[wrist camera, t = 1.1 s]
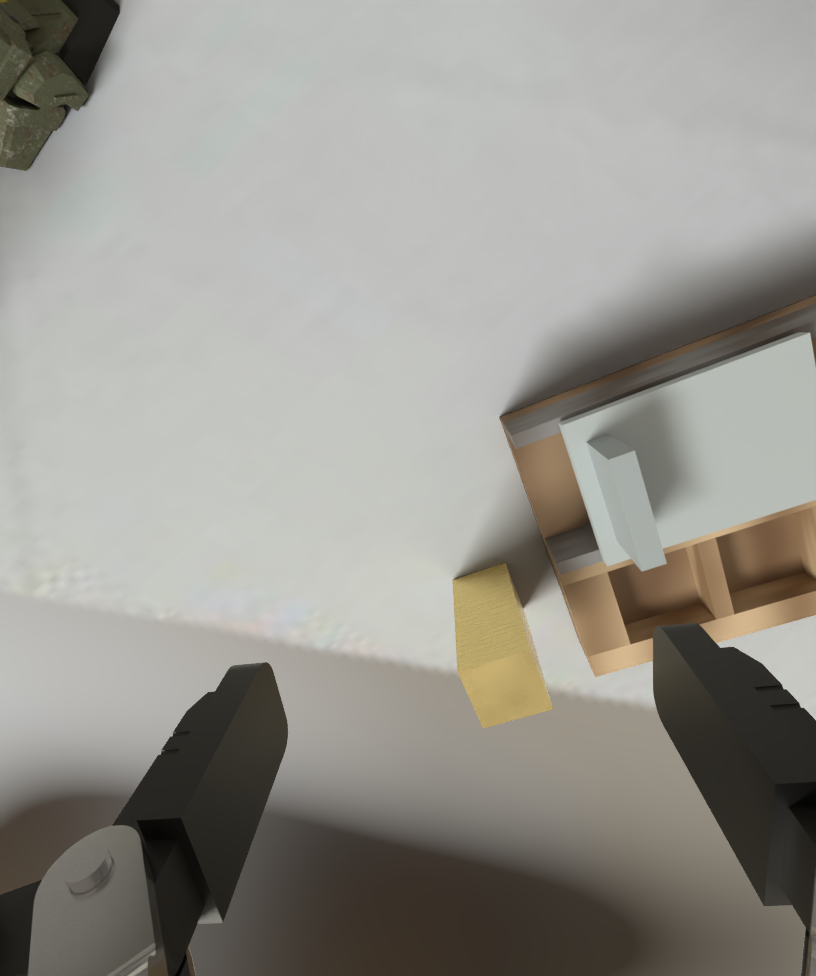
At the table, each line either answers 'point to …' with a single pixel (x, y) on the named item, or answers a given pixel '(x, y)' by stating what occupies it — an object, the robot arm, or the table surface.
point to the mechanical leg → (45, 67)
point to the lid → (698, 452)
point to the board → (675, 574)
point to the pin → (496, 648)
